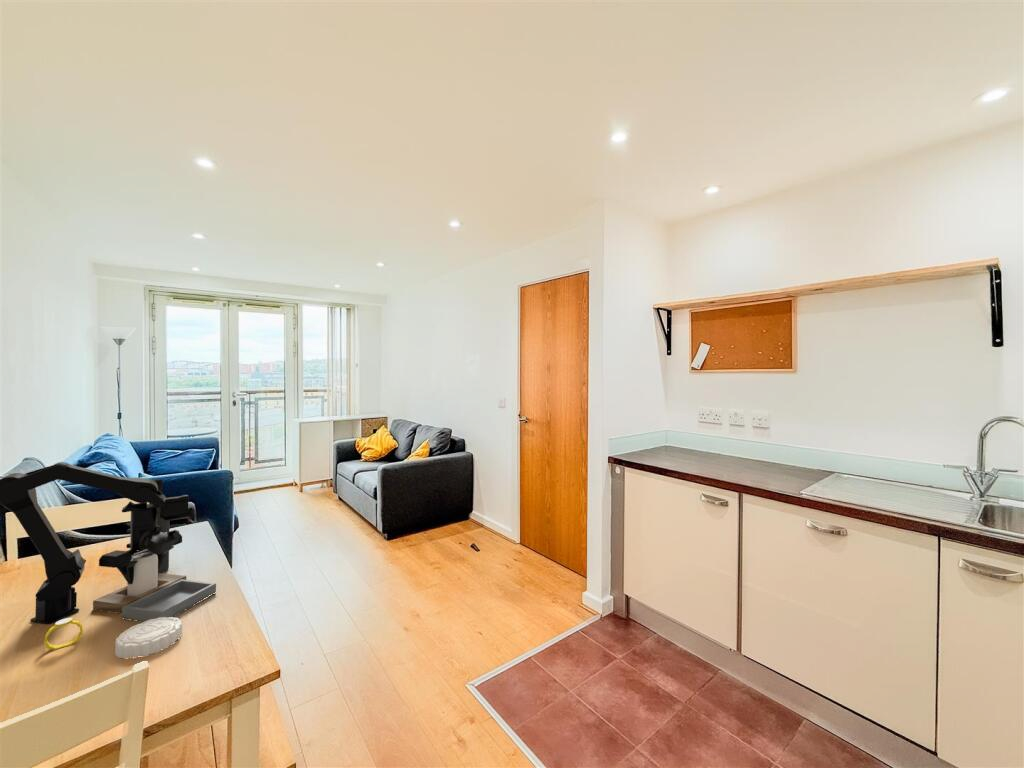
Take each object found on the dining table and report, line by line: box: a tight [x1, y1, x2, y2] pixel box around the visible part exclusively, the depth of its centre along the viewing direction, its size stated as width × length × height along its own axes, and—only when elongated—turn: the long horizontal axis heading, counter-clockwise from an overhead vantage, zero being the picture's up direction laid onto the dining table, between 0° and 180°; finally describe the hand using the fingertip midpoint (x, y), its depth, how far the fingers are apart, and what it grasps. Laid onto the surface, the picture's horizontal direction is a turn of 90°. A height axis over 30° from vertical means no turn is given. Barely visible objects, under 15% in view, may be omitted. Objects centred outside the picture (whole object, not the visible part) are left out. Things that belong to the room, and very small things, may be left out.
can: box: [127, 551, 158, 597], centre depth 119 cm, size 6×6×12 cm
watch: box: [43, 617, 84, 651], centre depth 96 cm, size 6×3×6 cm, turn 137°
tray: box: [121, 579, 217, 623], centre depth 114 cm, size 16×12×3 cm
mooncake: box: [114, 616, 183, 660], centre depth 98 cm, size 12×12×4 cm
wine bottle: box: [148, 478, 171, 573], centre depth 134 cm, size 6×6×30 cm
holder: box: [92, 572, 187, 614], centre depth 119 cm, size 17×11×2 cm, turn 170°
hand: (143, 578), depth 119 cm, fingers closed on can, 6 cm apart
